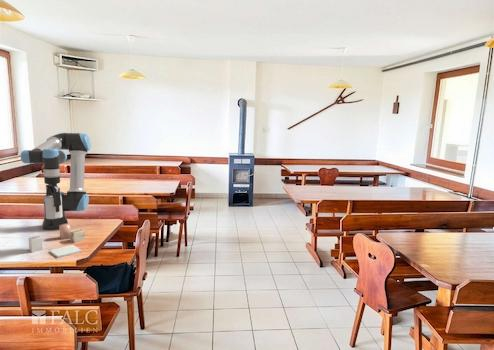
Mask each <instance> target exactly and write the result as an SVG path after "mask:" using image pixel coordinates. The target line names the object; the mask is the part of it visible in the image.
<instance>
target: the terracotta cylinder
mask: <svg viewBox="0 0 494 350" xmlns="http://www.w3.org/2000/svg"><path fill="white" fill-rule="evenodd" d="M71 228H72V227H71V223H68V224H61V225H59V229H58V230H59V239H61V240H67V239H70V231H72V229H71Z"/></svg>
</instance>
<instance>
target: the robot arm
mask: <svg viewBox="0 0 494 350" xmlns="http://www.w3.org/2000/svg"><path fill="white" fill-rule="evenodd" d="M91 145H92V144H91V140H90V137H89V135H88V134H86V133H82V132H61V133H60V132H59V133H57V134H53V135H51V136H49V137H48V138H47V139H46V141H44V142H42V143H41V144H39V145H38V146H36V147H34V148H33V149H31V150H28V149H27V150H22V151H21V152H20V160H21V162H22V163H24V164H29V165H32V164H33V165H34V164H43V170H42V173H43V174H44V175H43V176H44V178H43V180H44V184H45V189H46V190H45V195H44V196H43V210H44V218H43V221H42V224H41V225H42V229H43V230H59V225H61V224H69V221H68V218H67V216H66V215H65V212H84V211H86V210H87V208H88V206H89V203H90V198H89V197H90V195H89V194H88V193H87V190H85V169H86V168H85V166H86V165H85V163H86V161H85V159H86V155H87V154H88V151H90V150H91V148H92V147H91ZM63 150H64V151H63ZM65 150H66V151H68V154H70V174H69V175H70V176H69V189H68V190H67V191H66V194H65V193H64V192H63V191H61V188H60V187H59V186H58V184H60V183H61V176H60V175H61V170H60V169H61V168H60V164H62V163H65V162H66V161H67V159H68V156H67V155H68V154H67V153H66V152H65ZM60 195H61V196H62V214H63V217H61V218H57V217H60V205H61V198H60ZM45 196H53V198H54V206H53V207H54V218H57V219H47V218H46V210H45Z"/></svg>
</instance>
